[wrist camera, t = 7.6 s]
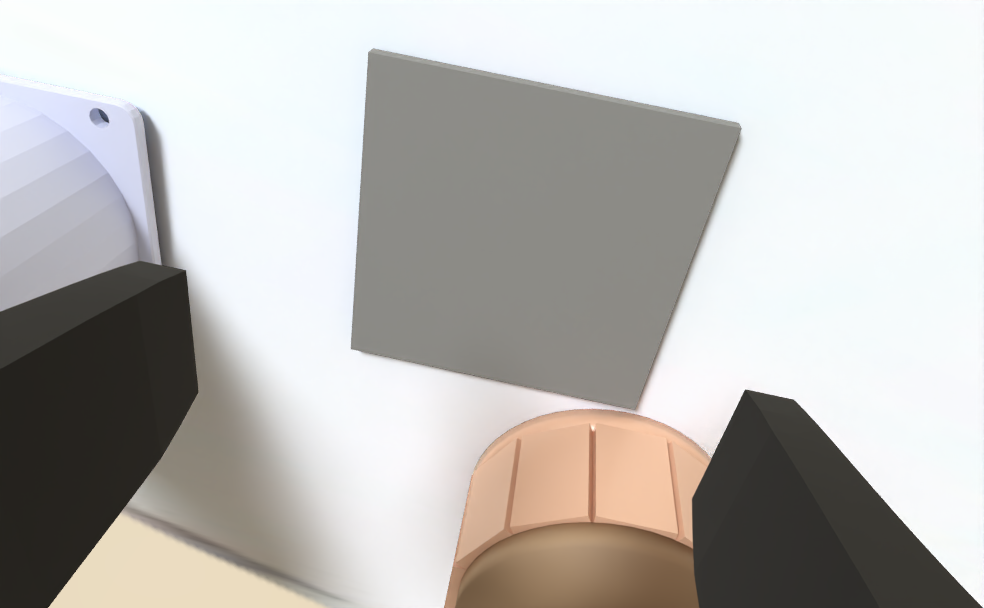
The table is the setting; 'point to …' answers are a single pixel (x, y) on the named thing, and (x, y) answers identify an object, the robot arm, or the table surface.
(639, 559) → the lid
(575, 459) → the peach cylinder
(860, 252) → the table surface
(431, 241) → the mat
